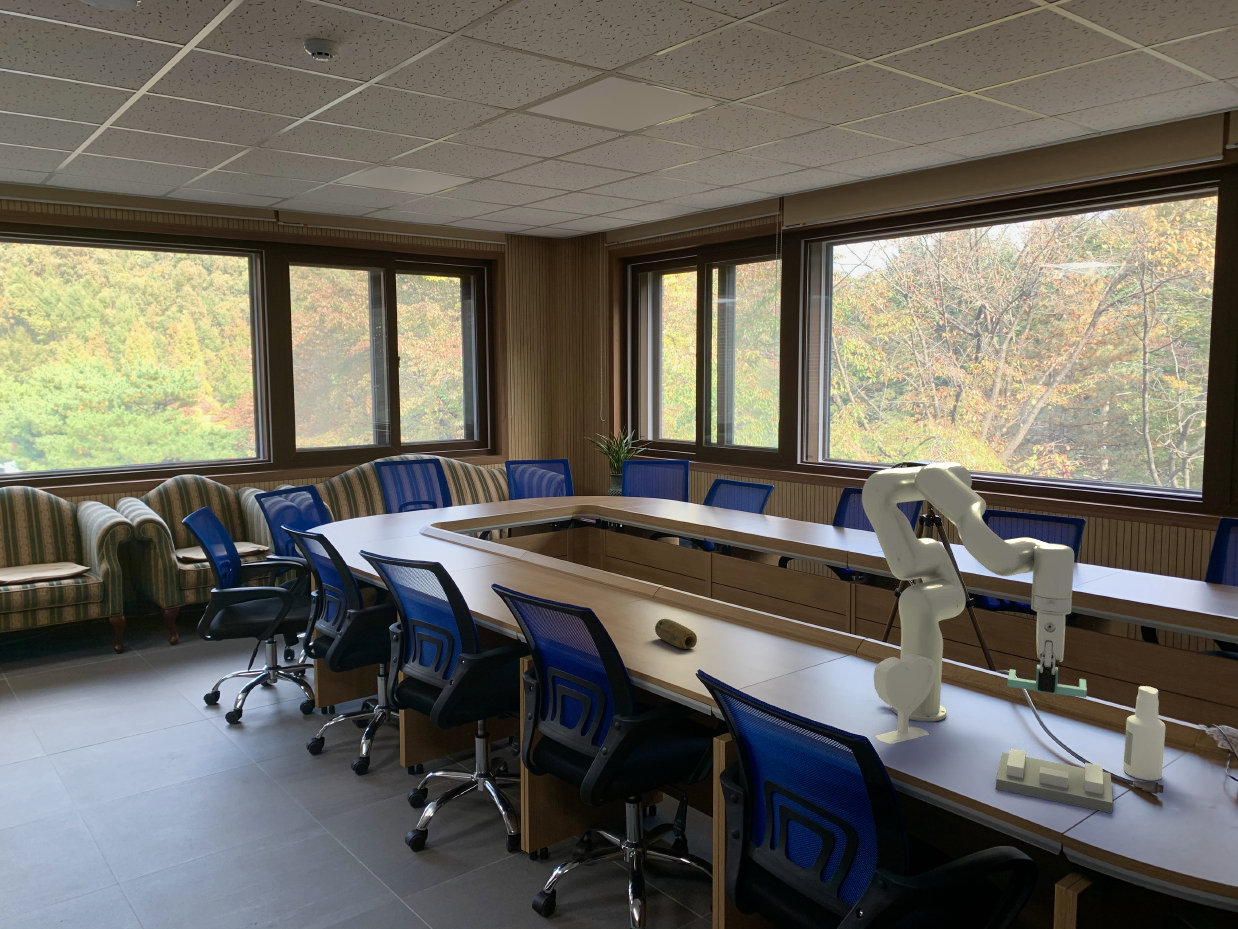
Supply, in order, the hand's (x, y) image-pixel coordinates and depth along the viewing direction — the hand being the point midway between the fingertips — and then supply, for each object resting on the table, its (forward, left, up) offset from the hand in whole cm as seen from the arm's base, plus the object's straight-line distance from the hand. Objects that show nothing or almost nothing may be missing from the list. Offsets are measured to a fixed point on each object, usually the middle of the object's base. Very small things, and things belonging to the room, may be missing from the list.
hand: (1046, 687), depth 186 cm
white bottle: (+19, +2, -16) cm, 24 cm away
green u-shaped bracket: (0, +3, -1) cm, 3 cm away
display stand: (+3, -13, -16) cm, 20 cm away
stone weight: (-101, +34, -16) cm, 108 cm away
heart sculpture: (-28, -2, -16) cm, 33 cm away
